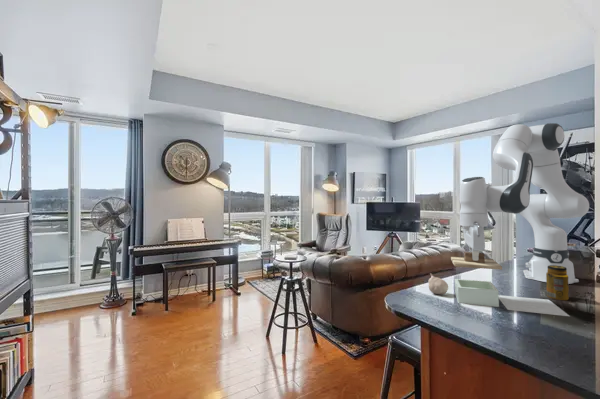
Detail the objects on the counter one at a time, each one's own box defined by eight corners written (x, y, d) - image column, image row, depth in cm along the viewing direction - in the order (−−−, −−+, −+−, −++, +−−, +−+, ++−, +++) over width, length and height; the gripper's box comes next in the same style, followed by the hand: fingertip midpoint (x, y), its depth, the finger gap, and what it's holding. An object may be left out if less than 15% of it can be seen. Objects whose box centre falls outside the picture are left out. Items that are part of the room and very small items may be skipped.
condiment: (573, 300, 104) (572, 266, 104) (565, 305, 100) (564, 270, 100) (547, 294, 110) (547, 263, 111) (539, 299, 106) (538, 266, 106)
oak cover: (450, 259, 114) (450, 249, 115) (492, 261, 109) (492, 250, 109) (454, 266, 102) (454, 255, 102) (502, 269, 96) (501, 257, 96)
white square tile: (496, 296, 109) (496, 294, 109) (548, 301, 103) (548, 299, 103) (507, 311, 95) (507, 309, 95) (570, 318, 89) (570, 316, 89)
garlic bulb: (438, 290, 118) (438, 271, 118) (451, 295, 112) (451, 274, 112) (425, 292, 116) (425, 272, 116) (437, 297, 109) (437, 276, 110)
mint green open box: (455, 294, 113) (454, 278, 113) (491, 297, 108) (490, 281, 108) (458, 304, 102) (458, 287, 102) (499, 308, 97) (498, 290, 97)
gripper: (489, 223, 95) (490, 265, 95) (478, 219, 114) (479, 254, 113) (467, 223, 97) (468, 264, 97) (460, 219, 116) (460, 253, 116)
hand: (474, 259), depth 105 cm, fingers closed on oak cover, 3 cm apart
